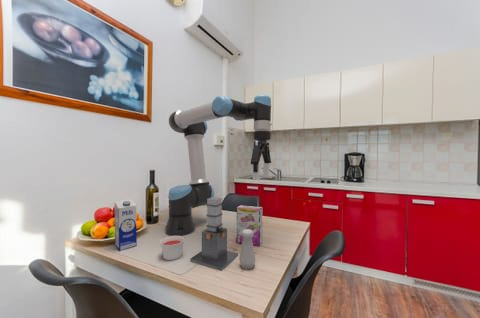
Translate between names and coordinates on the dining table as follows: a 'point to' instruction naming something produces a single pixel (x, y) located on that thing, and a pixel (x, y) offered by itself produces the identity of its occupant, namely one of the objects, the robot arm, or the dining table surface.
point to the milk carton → (125, 224)
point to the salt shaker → (247, 250)
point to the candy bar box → (249, 223)
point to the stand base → (214, 250)
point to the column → (214, 214)
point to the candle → (172, 247)
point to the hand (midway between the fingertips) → (261, 178)
